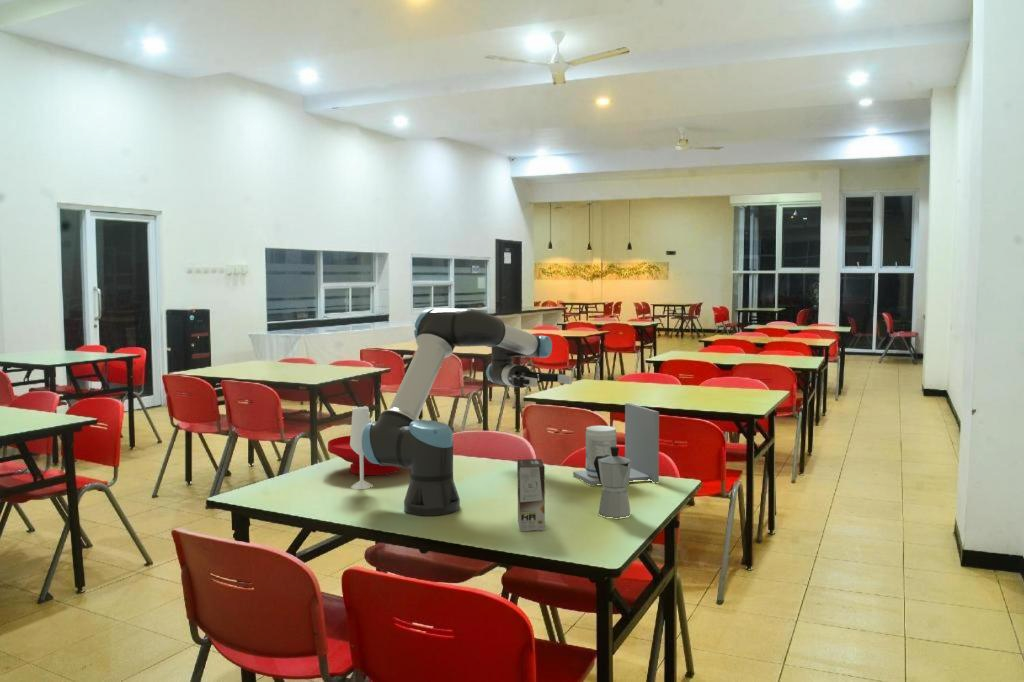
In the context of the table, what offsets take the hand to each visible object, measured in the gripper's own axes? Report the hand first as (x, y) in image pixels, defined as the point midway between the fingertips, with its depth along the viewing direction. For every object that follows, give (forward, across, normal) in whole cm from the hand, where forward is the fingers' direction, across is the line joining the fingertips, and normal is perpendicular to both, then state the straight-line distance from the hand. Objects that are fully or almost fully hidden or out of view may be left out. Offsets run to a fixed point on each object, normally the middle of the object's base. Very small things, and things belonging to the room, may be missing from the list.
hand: (553, 381), depth 249 cm
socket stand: (+15, -12, -30) cm, 36 cm away
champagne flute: (-20, +58, -30) cm, 68 cm away
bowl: (-38, +46, -30) cm, 67 cm away
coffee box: (+42, +38, -30) cm, 65 cm away
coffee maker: (+45, +14, -30) cm, 56 cm away
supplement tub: (+14, -8, -29) cm, 33 cm away
